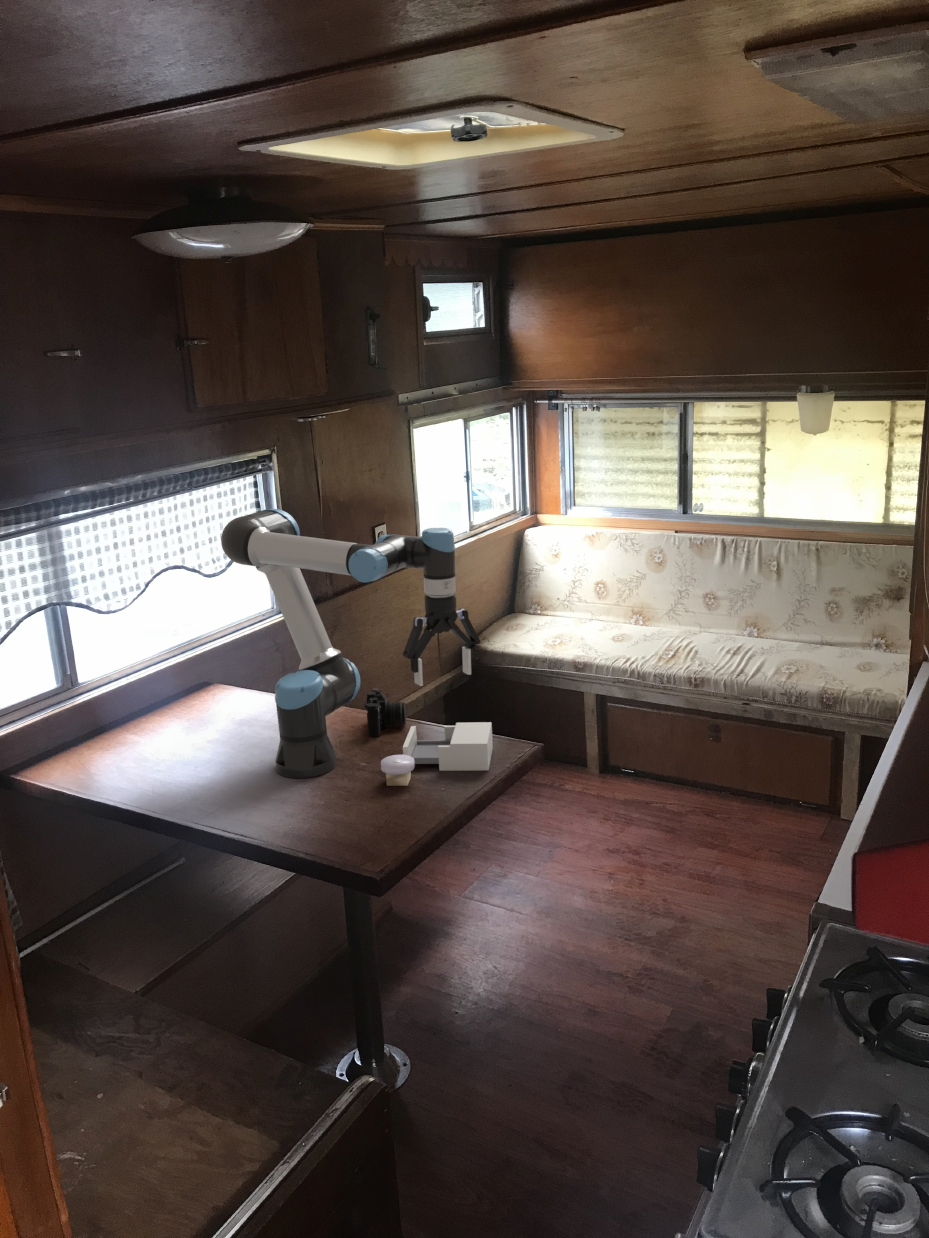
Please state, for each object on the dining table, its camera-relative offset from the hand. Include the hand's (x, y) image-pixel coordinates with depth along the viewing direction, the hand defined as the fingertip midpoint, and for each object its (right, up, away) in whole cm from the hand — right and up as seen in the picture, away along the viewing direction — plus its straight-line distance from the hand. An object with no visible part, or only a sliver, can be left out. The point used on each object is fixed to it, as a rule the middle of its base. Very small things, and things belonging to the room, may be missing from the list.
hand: (443, 678), depth 240 cm
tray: (-3, -20, +9) cm, 22 cm away
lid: (-11, -21, -4) cm, 24 cm away
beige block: (-10, -24, -3) cm, 27 cm away
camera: (-16, -16, +31) cm, 39 cm away
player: (+6, -21, +8) cm, 23 cm away
